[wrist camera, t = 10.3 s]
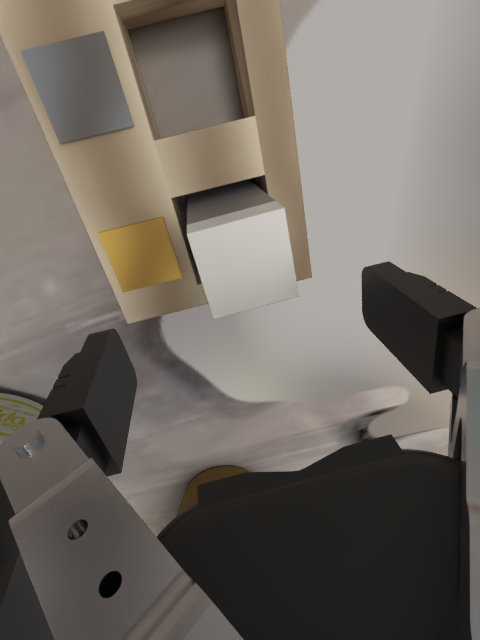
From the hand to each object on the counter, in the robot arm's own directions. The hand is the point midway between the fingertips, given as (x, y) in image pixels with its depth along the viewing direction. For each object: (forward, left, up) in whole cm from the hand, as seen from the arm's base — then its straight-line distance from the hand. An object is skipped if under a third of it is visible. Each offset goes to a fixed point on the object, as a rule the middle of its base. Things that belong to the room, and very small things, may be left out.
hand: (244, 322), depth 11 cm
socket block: (-1, +4, -14) cm, 15 cm away
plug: (+1, 0, -14) cm, 14 cm away
